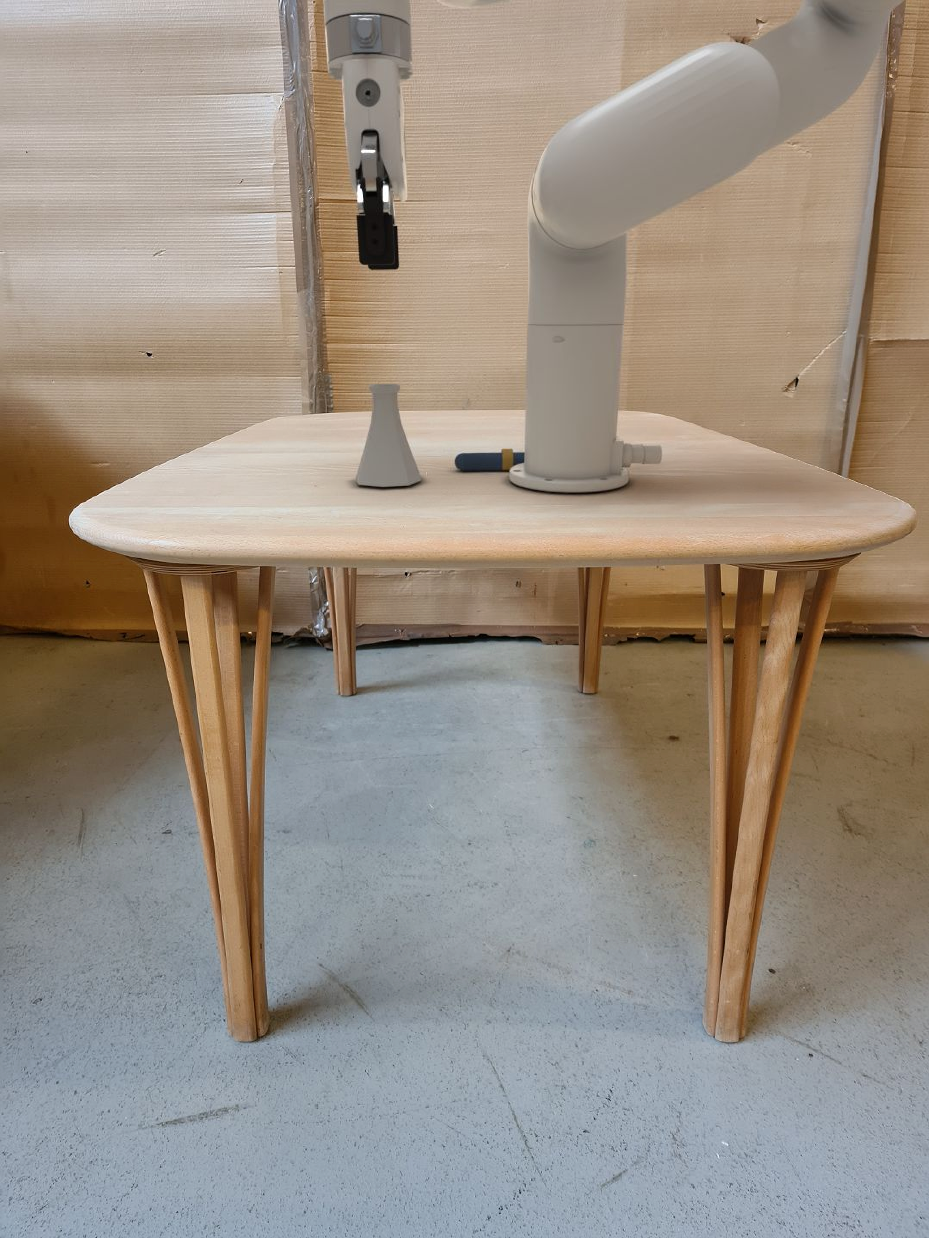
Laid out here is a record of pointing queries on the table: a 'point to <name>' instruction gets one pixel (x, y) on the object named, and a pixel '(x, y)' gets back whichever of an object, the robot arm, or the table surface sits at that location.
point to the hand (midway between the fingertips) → (380, 267)
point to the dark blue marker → (489, 460)
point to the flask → (386, 444)
